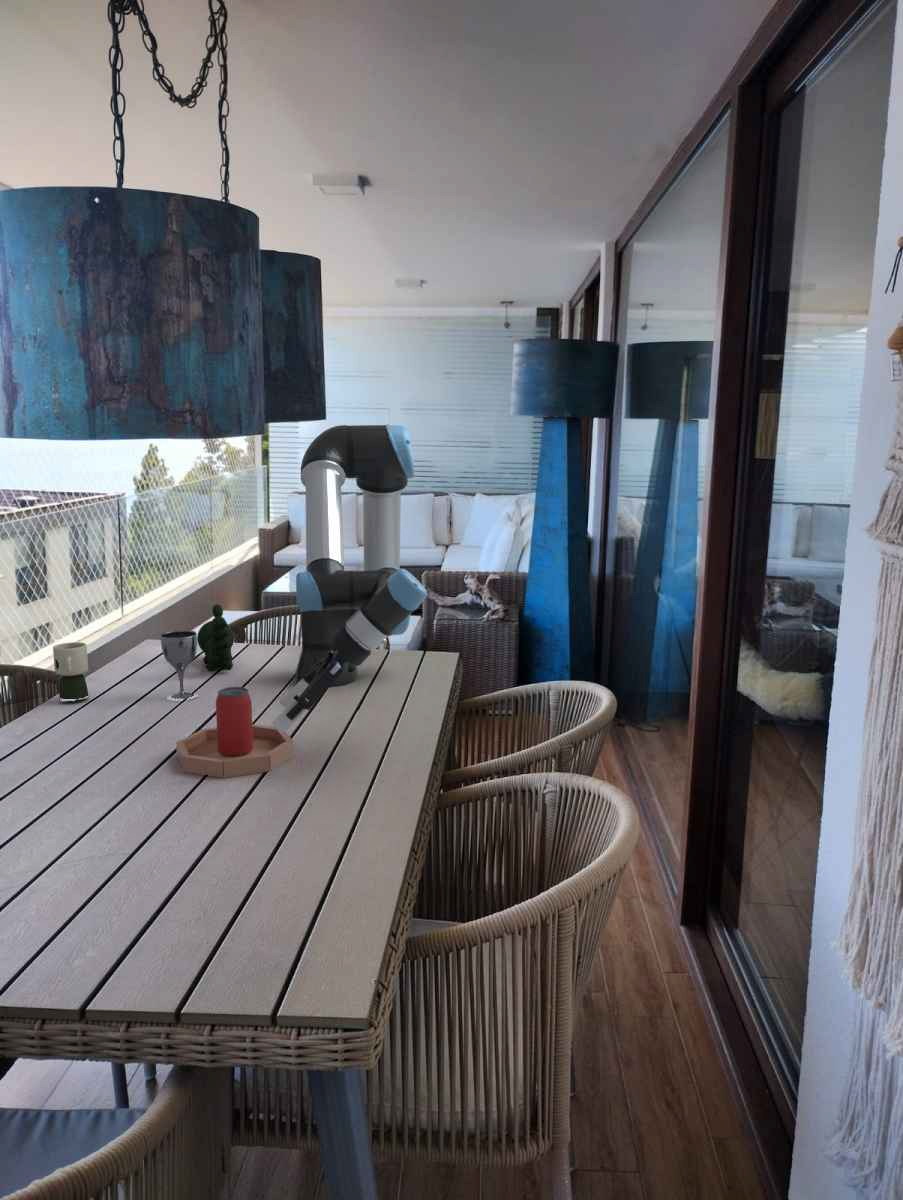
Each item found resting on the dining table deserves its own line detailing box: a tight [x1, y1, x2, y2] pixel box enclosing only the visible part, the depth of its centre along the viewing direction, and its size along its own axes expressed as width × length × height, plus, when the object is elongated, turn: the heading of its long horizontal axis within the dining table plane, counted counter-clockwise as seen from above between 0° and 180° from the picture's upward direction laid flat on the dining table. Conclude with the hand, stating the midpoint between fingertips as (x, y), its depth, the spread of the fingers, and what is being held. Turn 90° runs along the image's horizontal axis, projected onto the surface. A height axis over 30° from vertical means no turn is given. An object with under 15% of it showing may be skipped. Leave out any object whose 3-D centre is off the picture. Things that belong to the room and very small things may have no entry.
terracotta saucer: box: [175, 723, 294, 779], centre depth 181 cm, size 20×20×3 cm
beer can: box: [215, 686, 253, 756], centre depth 180 cm, size 7×7×12 cm
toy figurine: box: [197, 603, 235, 672], centre depth 246 cm, size 9×19×25 cm
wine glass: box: [160, 629, 198, 699], centre depth 219 cm, size 8×8×15 cm
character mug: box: [52, 641, 89, 699], centre depth 216 cm, size 11×7×13 cm, turn 15°
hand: (280, 717), depth 180 cm, fingers open, 13 cm apart
